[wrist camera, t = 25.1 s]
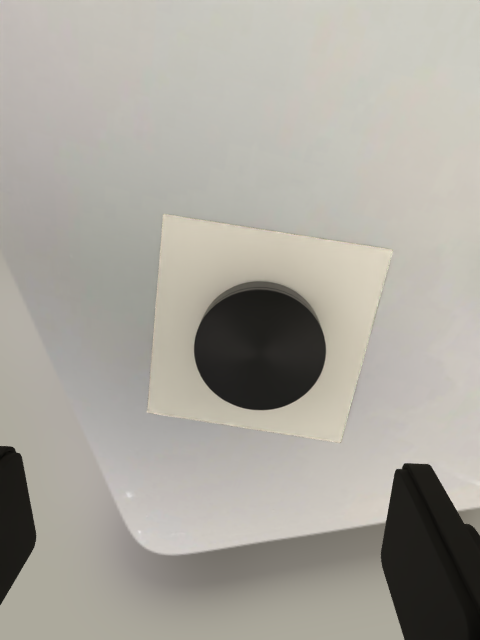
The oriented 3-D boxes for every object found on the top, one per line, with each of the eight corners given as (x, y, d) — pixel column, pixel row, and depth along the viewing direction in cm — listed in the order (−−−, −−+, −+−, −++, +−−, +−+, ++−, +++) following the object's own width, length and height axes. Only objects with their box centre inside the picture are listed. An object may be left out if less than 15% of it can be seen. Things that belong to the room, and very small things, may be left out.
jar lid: (347, 350, 24) (353, 363, 22) (252, 416, 25) (251, 433, 24) (269, 254, 22) (269, 261, 20) (173, 331, 24) (166, 343, 22)
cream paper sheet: (147, 412, 26) (140, 426, 25) (163, 214, 22) (156, 217, 21) (340, 443, 26) (345, 458, 25) (393, 249, 22) (401, 255, 21)
